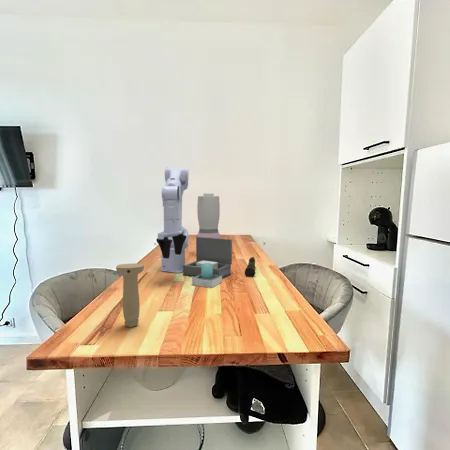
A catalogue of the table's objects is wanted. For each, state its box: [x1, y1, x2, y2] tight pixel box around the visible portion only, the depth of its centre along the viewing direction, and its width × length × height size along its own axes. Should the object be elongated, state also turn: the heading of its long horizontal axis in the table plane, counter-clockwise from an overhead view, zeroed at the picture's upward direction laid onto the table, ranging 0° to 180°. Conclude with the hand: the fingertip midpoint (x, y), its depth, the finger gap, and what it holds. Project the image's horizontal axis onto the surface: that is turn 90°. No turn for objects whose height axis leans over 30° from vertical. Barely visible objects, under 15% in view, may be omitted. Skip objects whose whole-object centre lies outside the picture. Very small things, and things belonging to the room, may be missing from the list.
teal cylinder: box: [201, 263, 213, 280], centre depth 115 cm, size 4×4×7 cm
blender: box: [196, 192, 221, 239], centre depth 166 cm, size 16×12×32 cm
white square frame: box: [191, 274, 223, 289], centre depth 115 cm, size 8×8×2 cm
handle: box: [115, 262, 145, 328], centre depth 79 cm, size 5×6×15 cm
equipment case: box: [182, 236, 233, 280], centre depth 127 cm, size 16×11×14 cm
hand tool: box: [244, 256, 256, 278], centre depth 134 cm, size 19×4×5 cm, turn 169°
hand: (172, 256), depth 117 cm, fingers open, 7 cm apart
